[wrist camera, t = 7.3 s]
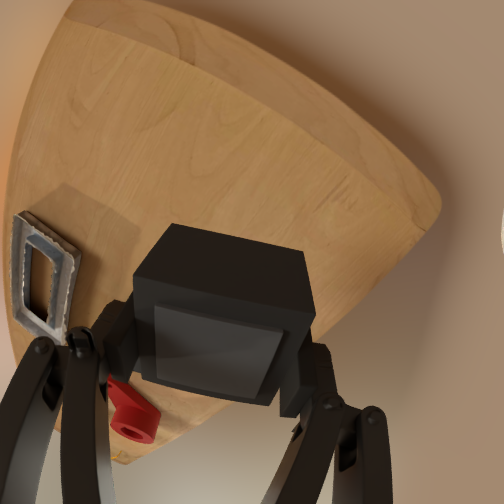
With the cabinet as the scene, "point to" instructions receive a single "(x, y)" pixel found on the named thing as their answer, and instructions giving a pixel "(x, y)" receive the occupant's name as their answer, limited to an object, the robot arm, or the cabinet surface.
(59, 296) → the picture frame
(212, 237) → the black block
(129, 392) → the lever
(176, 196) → the cabinet surface
